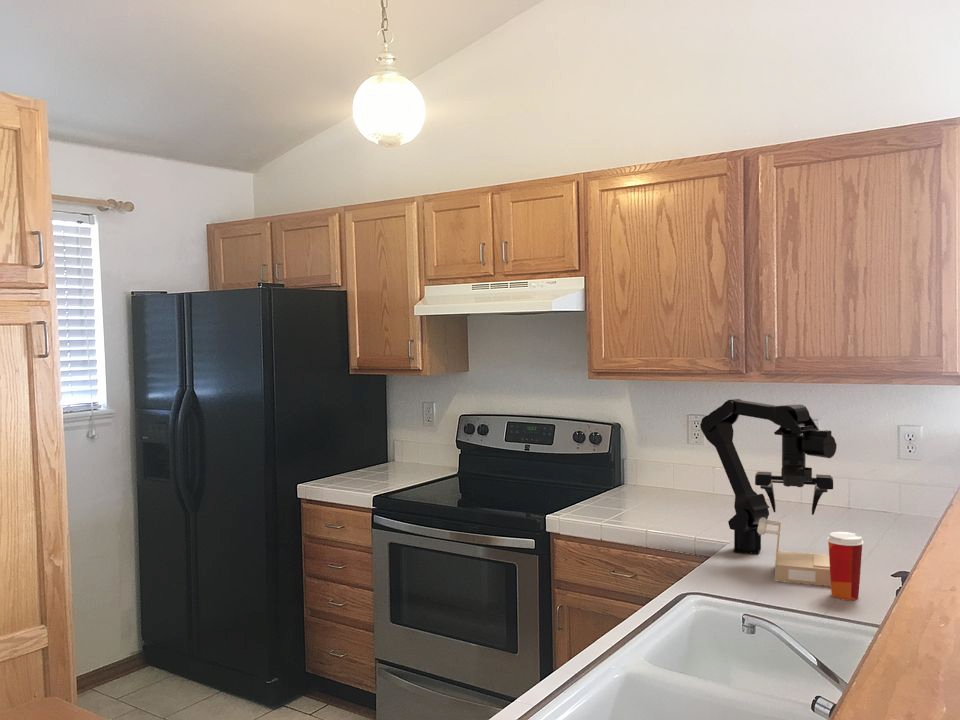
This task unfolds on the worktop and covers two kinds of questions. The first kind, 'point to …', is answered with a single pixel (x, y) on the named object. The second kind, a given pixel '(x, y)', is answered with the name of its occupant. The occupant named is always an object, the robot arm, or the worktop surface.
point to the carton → (803, 568)
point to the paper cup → (845, 564)
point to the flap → (763, 530)
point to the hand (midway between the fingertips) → (793, 513)
